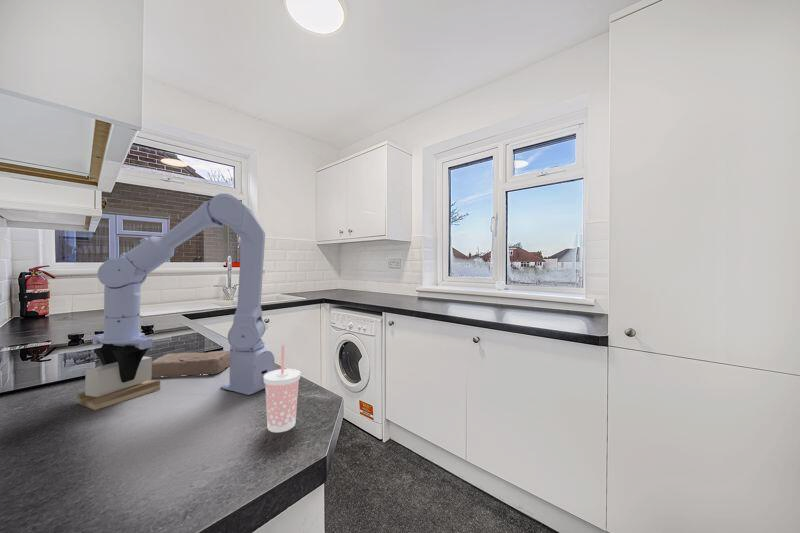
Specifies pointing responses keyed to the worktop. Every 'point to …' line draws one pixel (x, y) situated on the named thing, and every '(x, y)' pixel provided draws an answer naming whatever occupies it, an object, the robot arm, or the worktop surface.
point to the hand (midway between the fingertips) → (121, 379)
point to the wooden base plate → (118, 395)
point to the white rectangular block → (114, 378)
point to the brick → (190, 363)
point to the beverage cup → (281, 397)
